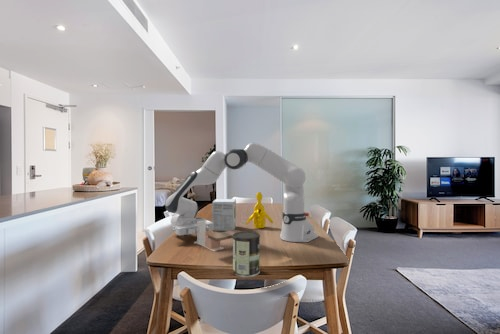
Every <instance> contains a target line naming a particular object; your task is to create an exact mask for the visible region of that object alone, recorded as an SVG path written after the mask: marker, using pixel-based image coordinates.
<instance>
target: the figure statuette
mask: <svg viewBox="0 0 500 334" xmlns="http://www.w3.org/2000/svg"><path fill="white" fill-rule="evenodd" d="M255 198H256V200H257V203H256V204H255V205H254V207H253V210H254V211H253V213H252V215H250V216H249V218H248V219H247V220H246V222H245V224H246V225H247V224H249V223H250V222H251V221H252V223H253V224H252V225H253V226H254V228H255V229H262V228H263V229H264V228H265V226H266V219H267V220H268V221H269V223H271V224H274V223H275V221H274V220H273V219H272V218H271V217H270V215H269V214H268V213H267V212H266V210H265V206H264V205H263V204H262V200H263V194H262V192H259V191H258V192H257V193H256V195H255Z"/></svg>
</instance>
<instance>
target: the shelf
mask: <svg viewBox="0 0 500 334" xmlns="http://www.w3.org/2000/svg"><path fill="white" fill-rule="evenodd" d="M237 232H243V231H241V230H238V229H234V230H231V231H220V232H216V233H210V234H207V236H208V238H209V239H212V240H214V241H220V242H221V241H224V240H225V241H226V240H229V239H230V240H231V239H233V234H234V233H237Z"/></svg>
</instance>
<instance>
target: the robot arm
mask: <svg viewBox="0 0 500 334" xmlns="http://www.w3.org/2000/svg"><path fill="white" fill-rule="evenodd" d="M247 163H251V164H254V165H255V166H257V167H258V168H260V169H261V170H263V171H264V172H266V173H268V174H270V175H271V176H273V177H274V178H276V179H277V180H278V181H280V182H282V185H283V187H282V188H283V189H282V191H283V192H282V193H283V195H282V196H283V206H282V207H283V211H282V222H281V229H280V231H281V232H280V234H279V236H280V237H279V239H281V240H282V241H285V242H292V243H308V242H311V241H313V240H315V239H317V238H319V234H318V233H316V232H315V227H314V225H313V223H311V222H310V221H309V220H307V217H310V213H309V212H305V193H304V184H305V182H306V179H307V177H306V172H305V171H304V170H303V169H302V168H301V167H299V166H298V165H296V164H294V163H292V162H291V161H289V160H288V159H285V157H282V156H281V155H279V154H277V153H276V152H274V151H272V150H271V149H269V148H267V147H265V146H264V145H262V144H259V143H257V142H249V143H248V144H247V145H246V146H245V148H244V149H242V148H241V149H239V148H233V149H229V150H228V151H227V152H226V153H224V152H222V151H219V150H215V151H213V152H212V153H211V154H210V155H209V156H208V158H207V159H206V160H205V161H204V163H203V164H202V166H201V167H200V168H199V169H197V170H196V171H192V172H191V173H189V174H188V175H187V176H186V177H185V179H183V181H182V182H181V184H180V185H178V187H177V188H176V189H175V190H174V191H173V192H172V193H171V194H170V195H169V196H168V197H166V199H165V203H164V207H165V210H166V211H167V212H168V213H171V214H174V215H172V217H171V218H170V224H171V226H172V228H171V231H172V232H173V231H174V233H175V235H177V236H184V235H189V236H190V235H197V222H198V221H205V222H206V232H207V233H208V232H210V231H212V230H213V228H214V224H213V222H212V221H211V220H208V219H205V218H204V217H197V216H198V212H199V206H198V203H197V202H196V201H194V200H192V199H189V198H186V197H184V196H185V195H186V193H188V191H189V190H190V189H191V188H192V187H194V186H202V185H204V186H208V185H213V184H215V183H216V182H217V181H218V179H219V178H220V176H221V175H222V174H223V171H224V170H225V169H226V168H228V169H230V170H240V169H242V168H243V167H245V166H246V164H247Z"/></svg>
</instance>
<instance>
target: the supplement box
mask: <svg viewBox="0 0 500 334" xmlns="http://www.w3.org/2000/svg"><path fill="white" fill-rule="evenodd" d="M211 208H212V210H211V213H212V214H211V215H212V217H211V220H212V221H211V222H213V224H214V228H213V230H211V231H212V232H213V231H215V232H216V231H217V232H218V231H219V232H226V231H231V230H236V227H237V199H235V198H215V199H214V200H213V201H212V205H211Z"/></svg>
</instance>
